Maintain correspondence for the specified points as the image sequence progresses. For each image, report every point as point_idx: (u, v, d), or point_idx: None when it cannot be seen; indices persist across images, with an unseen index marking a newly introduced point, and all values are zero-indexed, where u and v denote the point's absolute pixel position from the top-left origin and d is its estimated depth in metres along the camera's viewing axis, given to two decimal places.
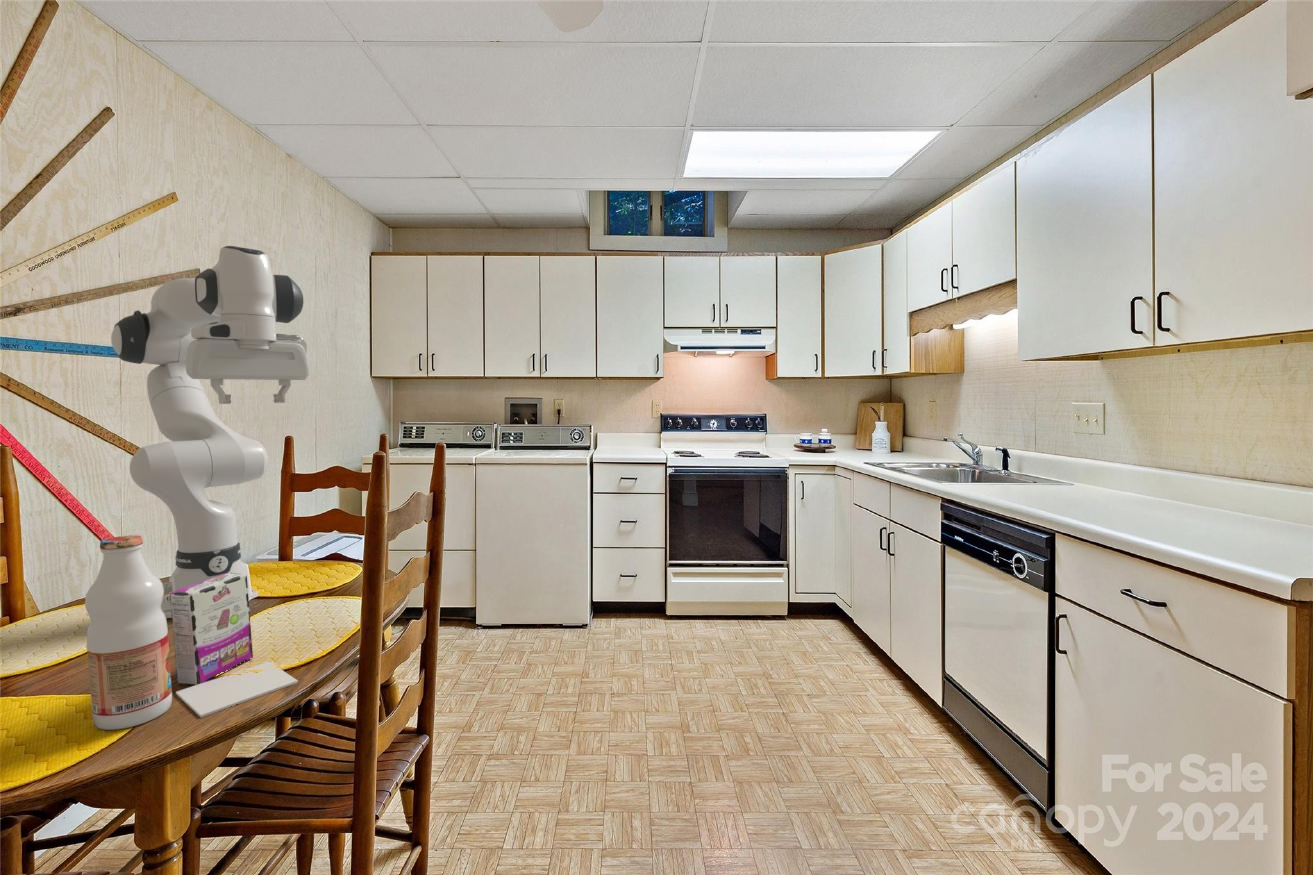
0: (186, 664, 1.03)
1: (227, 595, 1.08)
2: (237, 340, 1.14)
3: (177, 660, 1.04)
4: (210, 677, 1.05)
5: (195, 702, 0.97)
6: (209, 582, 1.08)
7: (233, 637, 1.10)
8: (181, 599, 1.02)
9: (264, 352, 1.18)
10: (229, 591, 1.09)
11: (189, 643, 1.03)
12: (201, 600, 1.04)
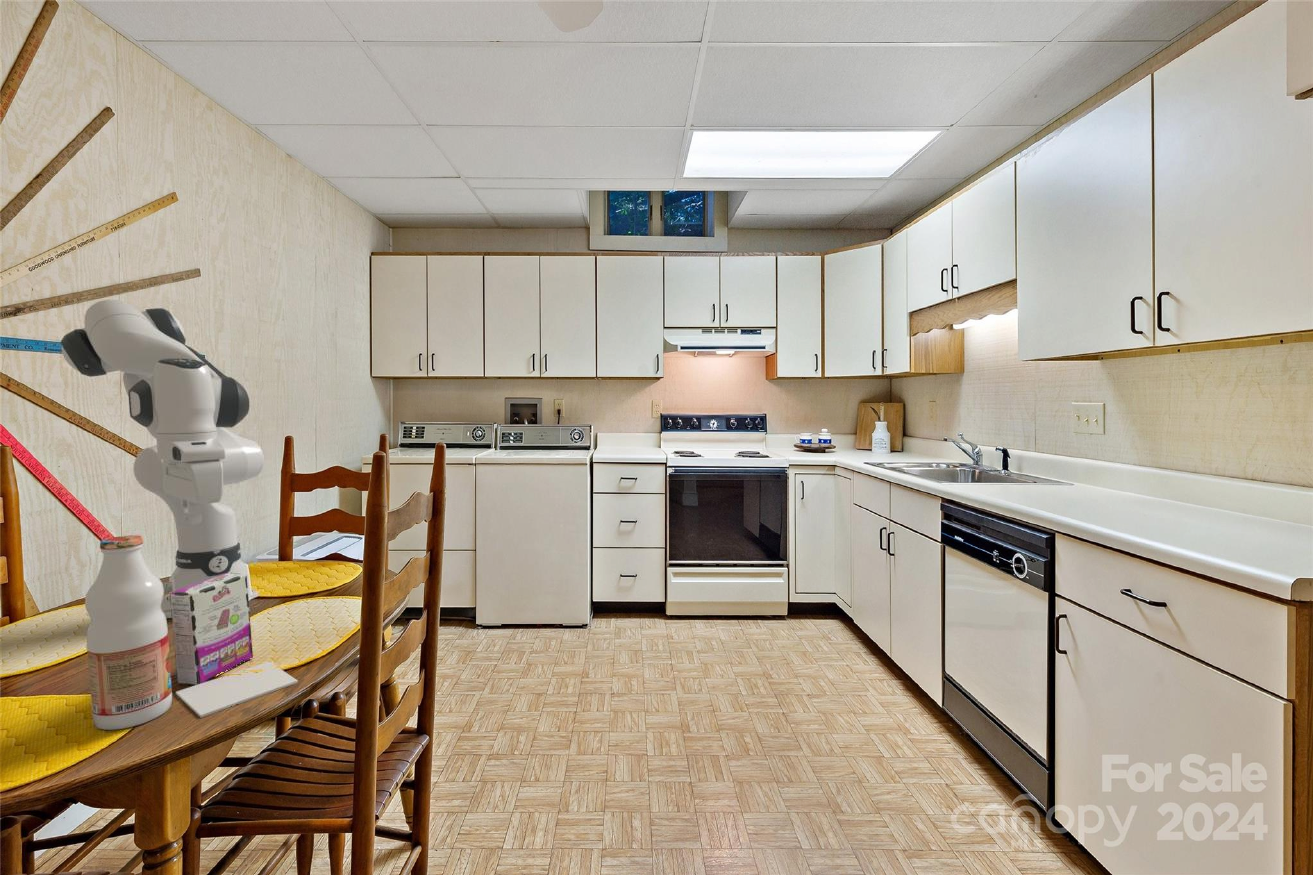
0: (186, 664, 1.03)
1: (227, 595, 1.08)
2: None
3: (177, 660, 1.04)
4: (210, 677, 1.05)
5: (195, 702, 0.97)
6: (209, 582, 1.08)
7: (233, 637, 1.10)
8: (181, 599, 1.02)
9: None
10: (229, 591, 1.09)
11: (189, 643, 1.03)
12: (201, 600, 1.04)
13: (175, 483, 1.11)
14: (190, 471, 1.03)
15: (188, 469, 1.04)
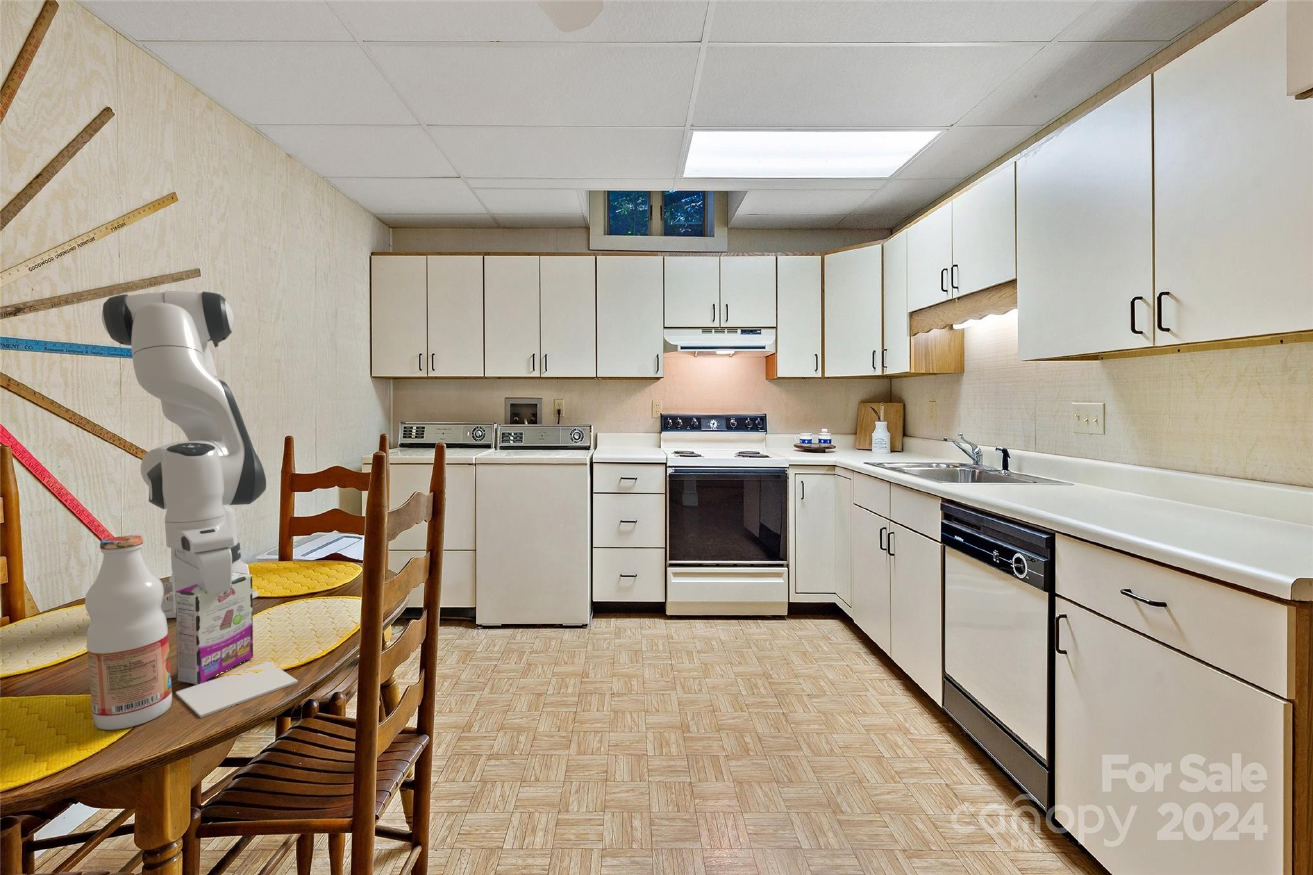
0: (187, 664, 1.03)
1: (231, 595, 1.08)
2: None
3: (178, 658, 1.04)
4: (210, 676, 1.05)
5: (195, 702, 0.97)
6: None
7: (235, 637, 1.10)
8: (186, 599, 1.02)
9: None
10: (234, 591, 1.09)
11: (192, 642, 1.03)
12: (206, 600, 1.03)
13: (184, 568, 1.10)
14: (199, 562, 1.03)
15: (197, 560, 1.03)
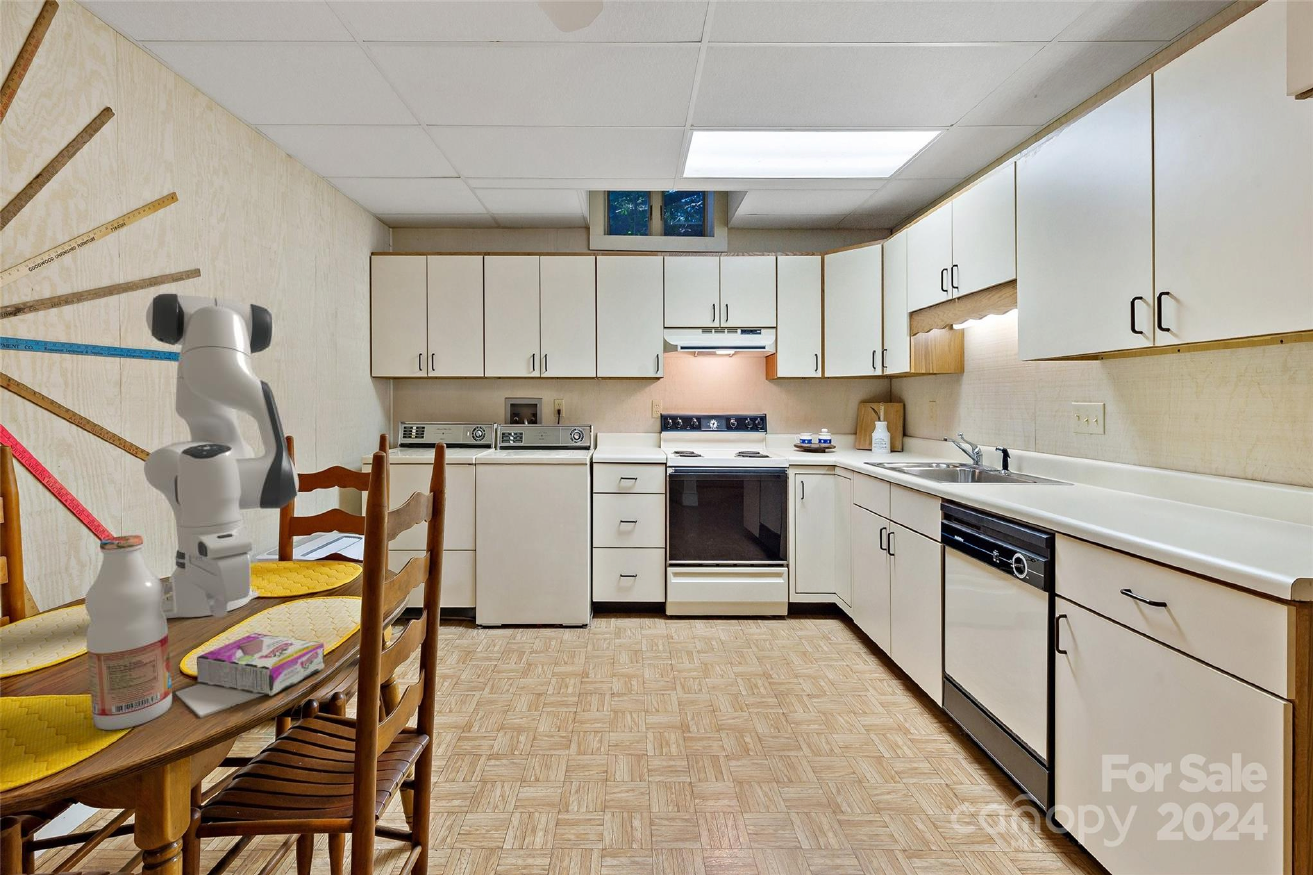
0: (212, 673, 1.02)
1: None
2: None
3: (215, 662, 1.02)
4: None
5: (195, 702, 0.97)
6: (299, 667, 1.04)
7: None
8: (265, 683, 0.99)
9: None
10: None
11: (230, 682, 1.01)
12: None
13: (199, 574, 1.06)
14: (217, 568, 0.99)
15: (215, 566, 0.99)
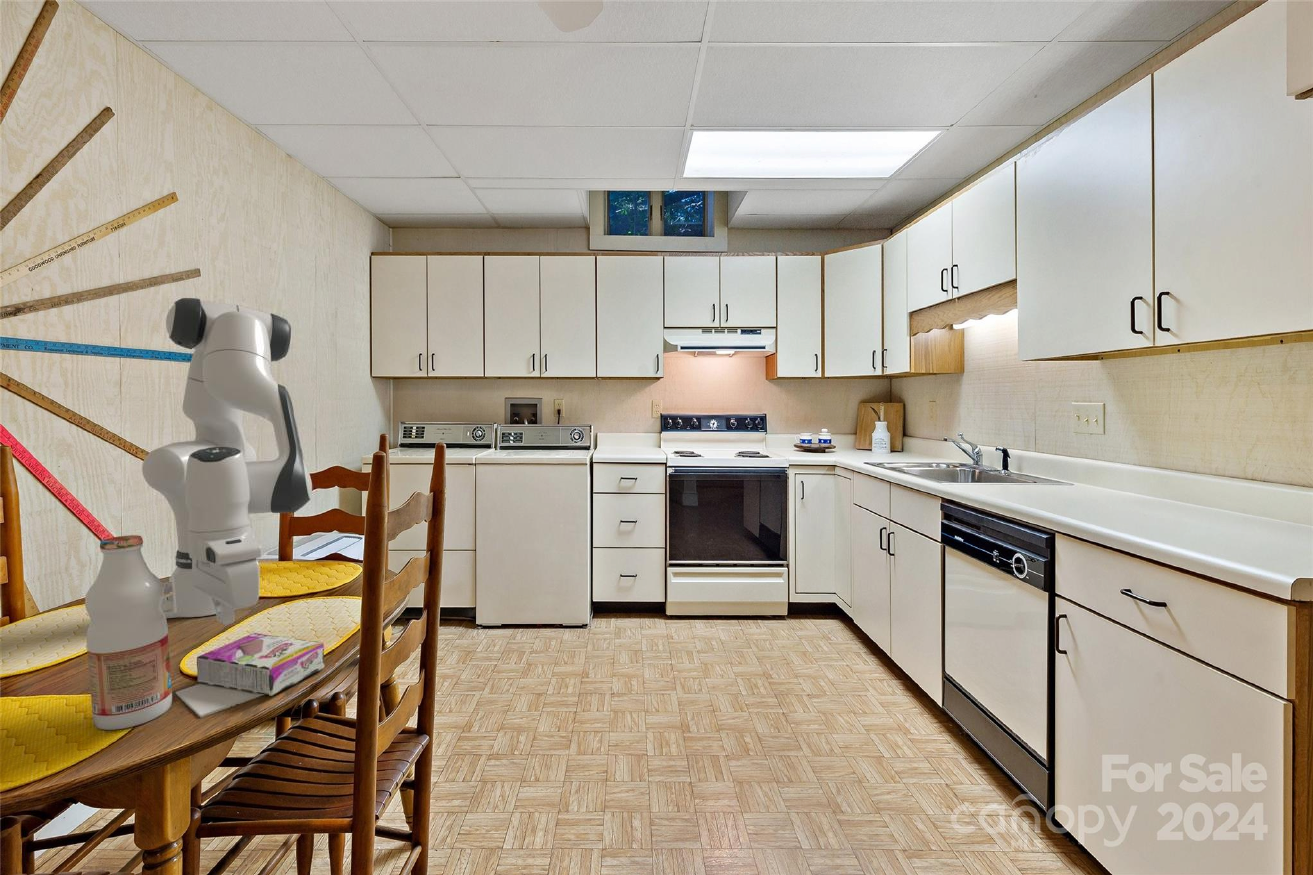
0: (212, 673, 1.02)
1: None
2: None
3: (215, 662, 1.02)
4: None
5: (195, 702, 0.97)
6: (299, 667, 1.04)
7: None
8: (265, 683, 0.99)
9: None
10: None
11: (230, 682, 1.01)
12: None
13: (207, 580, 1.03)
14: (225, 575, 0.96)
15: (223, 573, 0.96)
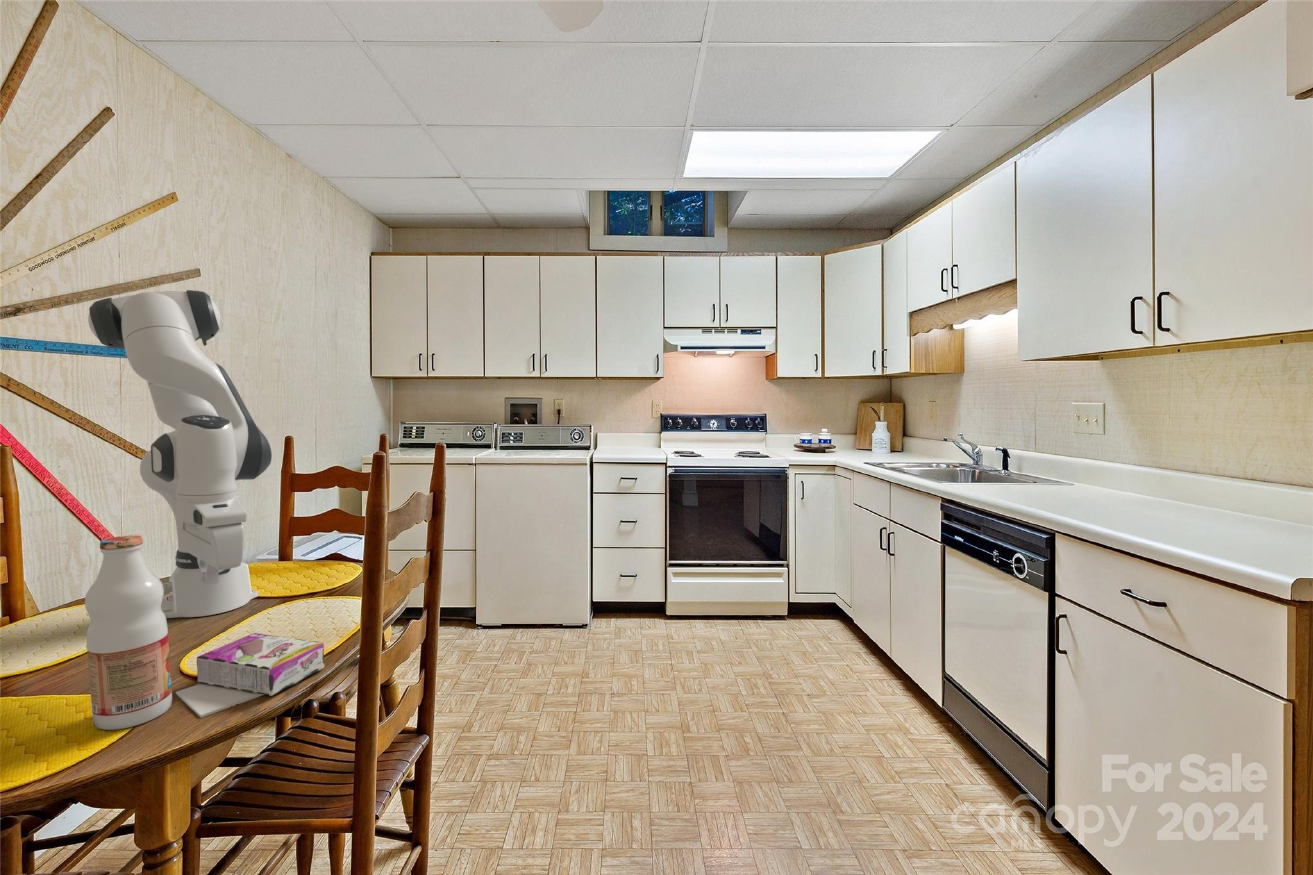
0: (212, 673, 1.02)
1: None
2: None
3: (215, 662, 1.02)
4: None
5: (195, 702, 0.97)
6: (299, 667, 1.04)
7: None
8: (265, 683, 0.99)
9: None
10: None
11: (230, 682, 1.01)
12: None
13: (193, 542, 1.08)
14: (211, 537, 1.01)
15: (209, 534, 1.01)
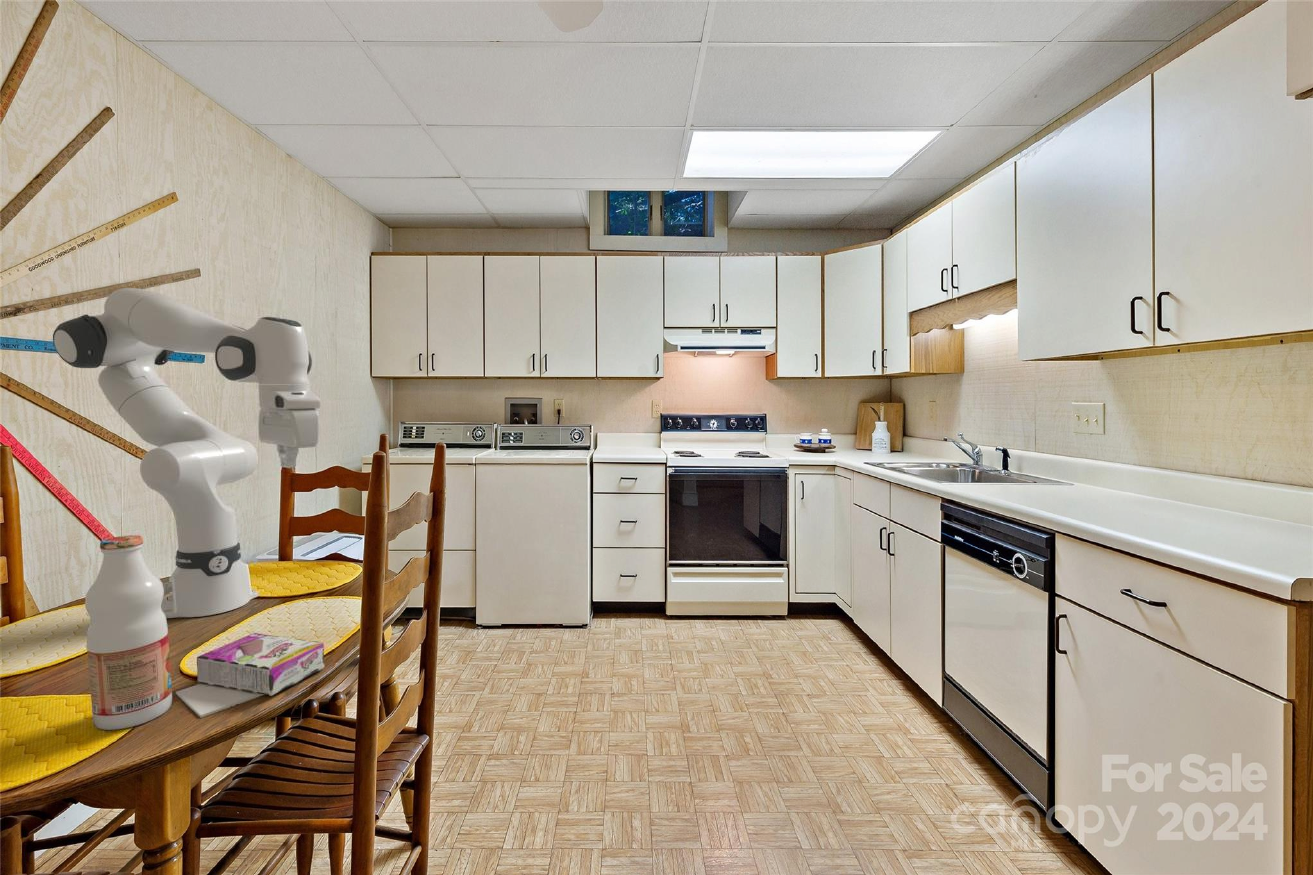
0: (212, 673, 1.02)
1: None
2: None
3: (215, 662, 1.02)
4: None
5: (195, 702, 0.97)
6: (299, 667, 1.04)
7: None
8: (265, 683, 0.99)
9: None
10: None
11: (230, 682, 1.01)
12: None
13: (273, 431, 1.22)
14: (292, 417, 1.15)
15: (290, 415, 1.15)
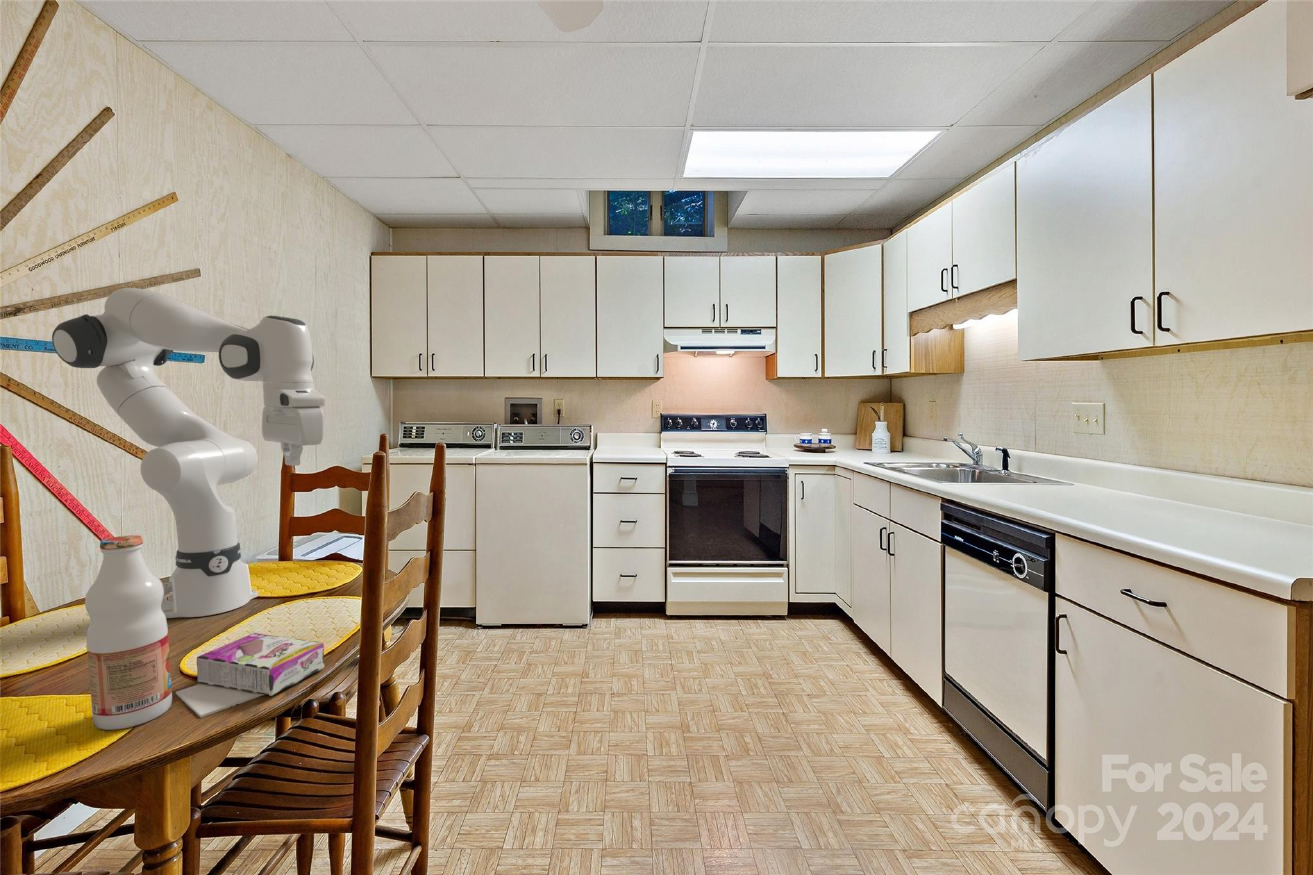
0: (212, 673, 1.02)
1: None
2: None
3: (215, 662, 1.02)
4: None
5: (195, 702, 0.97)
6: (299, 667, 1.04)
7: None
8: (265, 683, 0.99)
9: None
10: None
11: (230, 682, 1.01)
12: None
13: (277, 429, 1.23)
14: (297, 415, 1.15)
15: (295, 413, 1.16)
